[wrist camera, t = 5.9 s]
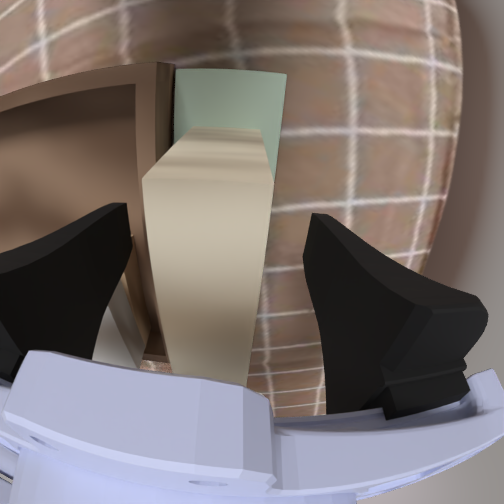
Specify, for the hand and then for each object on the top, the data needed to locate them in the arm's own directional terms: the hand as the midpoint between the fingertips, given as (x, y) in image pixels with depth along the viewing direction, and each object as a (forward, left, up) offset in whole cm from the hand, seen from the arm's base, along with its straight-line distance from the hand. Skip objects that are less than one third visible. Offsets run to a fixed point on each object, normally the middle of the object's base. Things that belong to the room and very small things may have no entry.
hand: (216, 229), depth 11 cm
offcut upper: (-7, +7, -1) cm, 10 cm away
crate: (-2, +11, -4) cm, 12 cm away
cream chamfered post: (-2, 0, -3) cm, 4 cm away
